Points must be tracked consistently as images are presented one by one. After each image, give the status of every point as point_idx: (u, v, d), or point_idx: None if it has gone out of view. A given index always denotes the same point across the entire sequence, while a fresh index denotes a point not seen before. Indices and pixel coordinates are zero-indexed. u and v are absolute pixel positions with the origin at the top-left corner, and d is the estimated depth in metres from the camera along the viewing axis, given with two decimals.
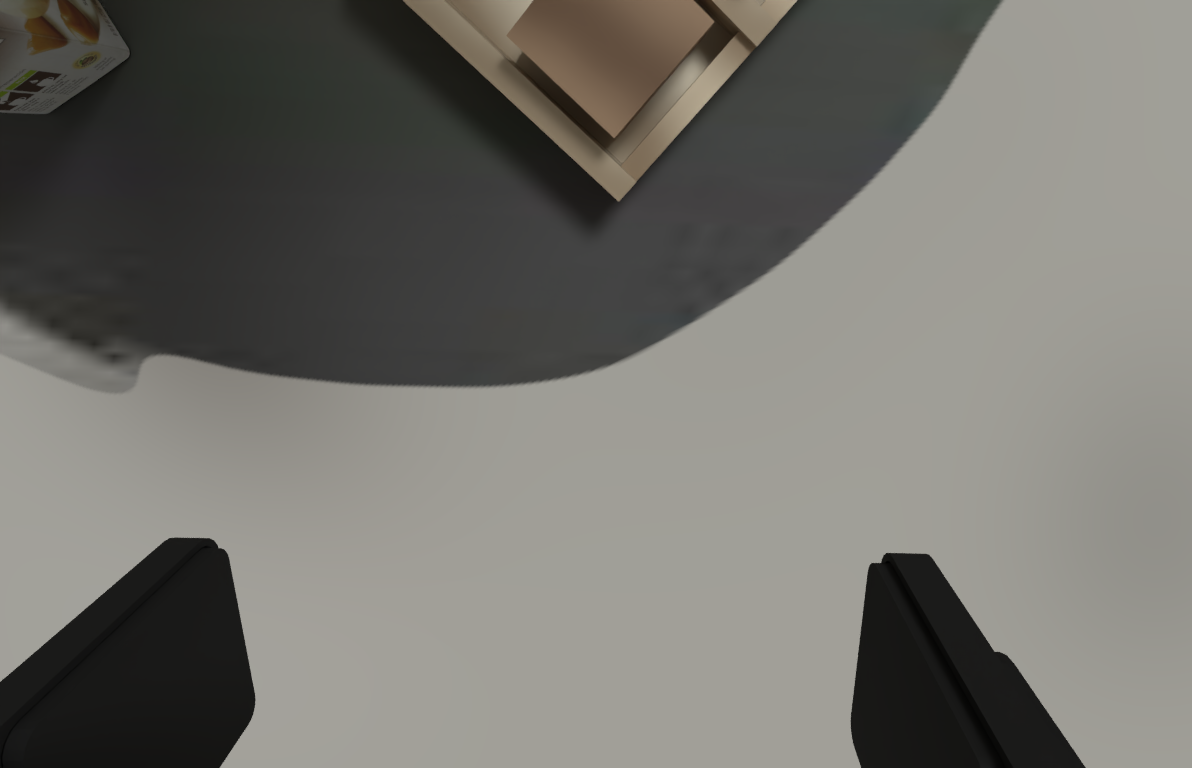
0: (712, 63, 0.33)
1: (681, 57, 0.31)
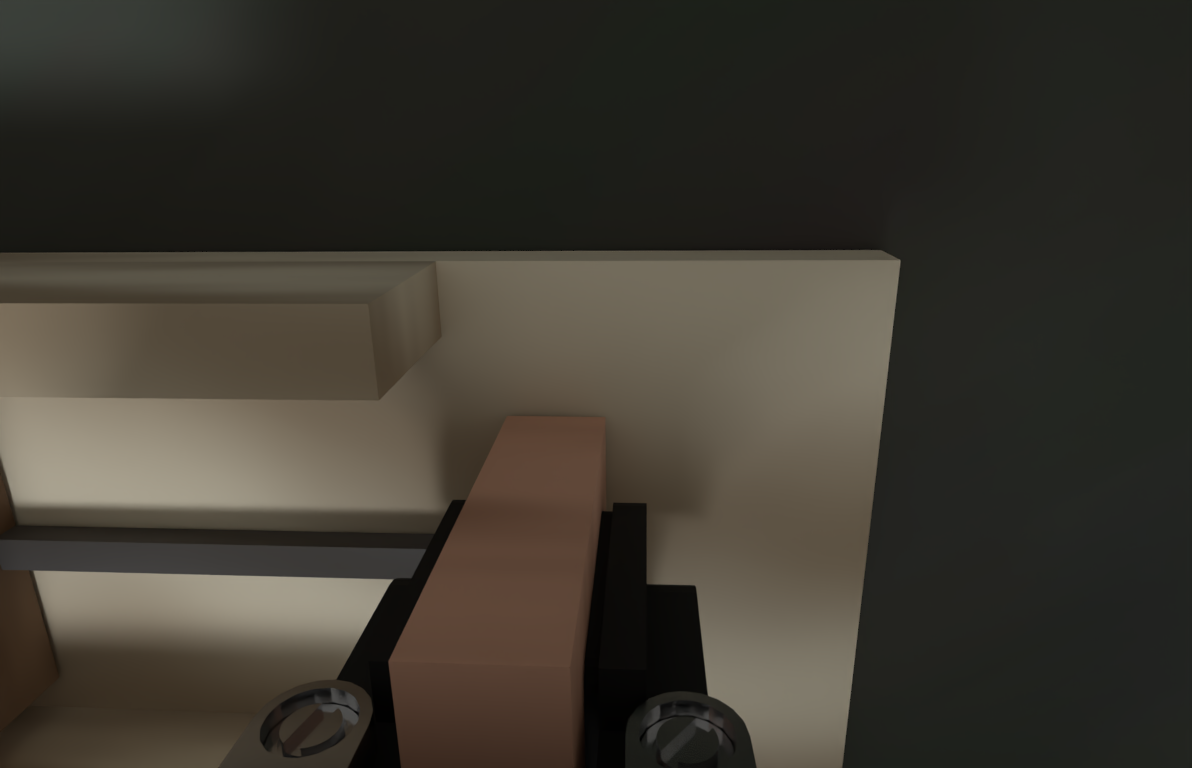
0: None
1: None
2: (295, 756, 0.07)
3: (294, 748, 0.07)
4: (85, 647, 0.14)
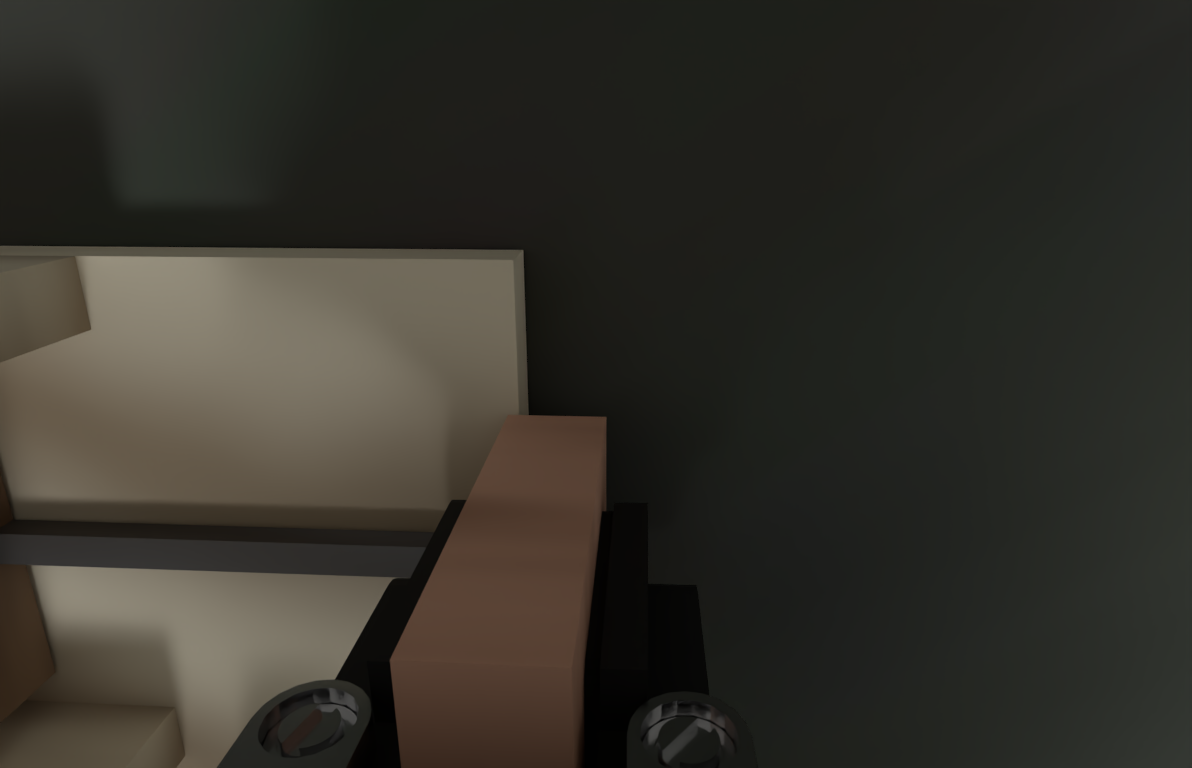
0: None
1: None
2: (294, 756, 0.07)
3: (293, 748, 0.07)
4: None
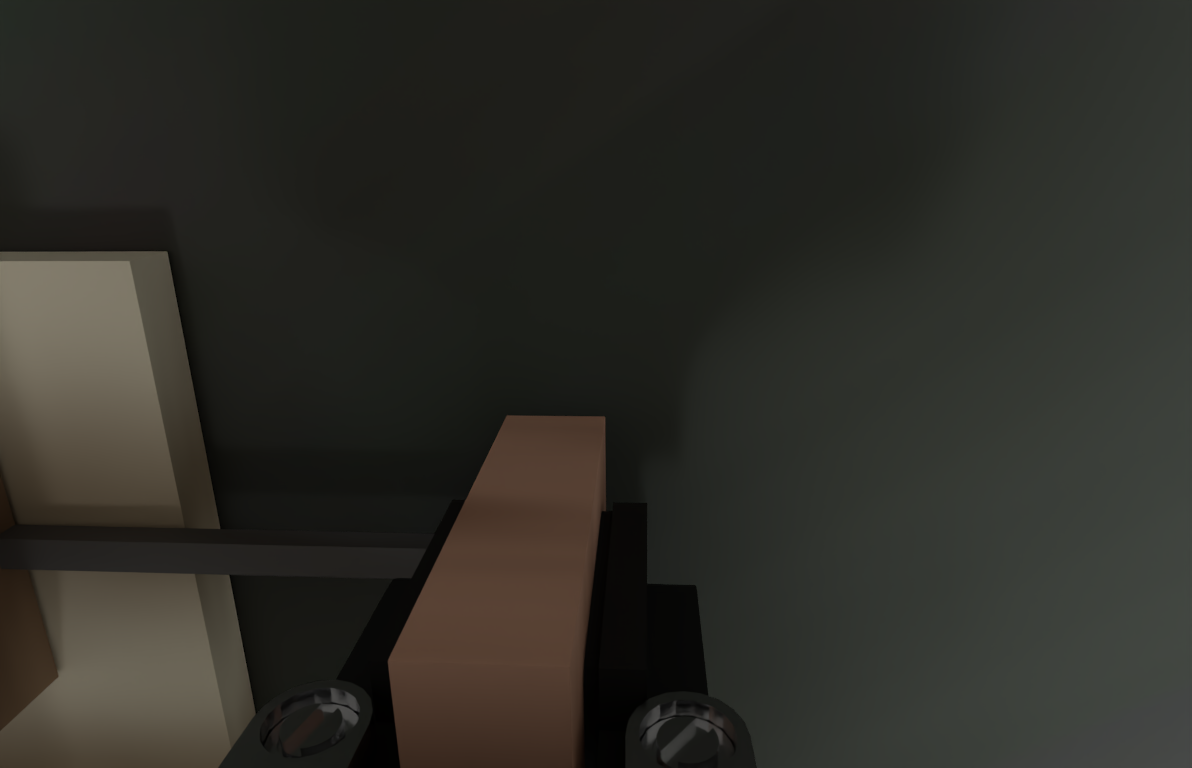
0: None
1: None
2: (295, 756, 0.07)
3: (294, 748, 0.07)
4: None
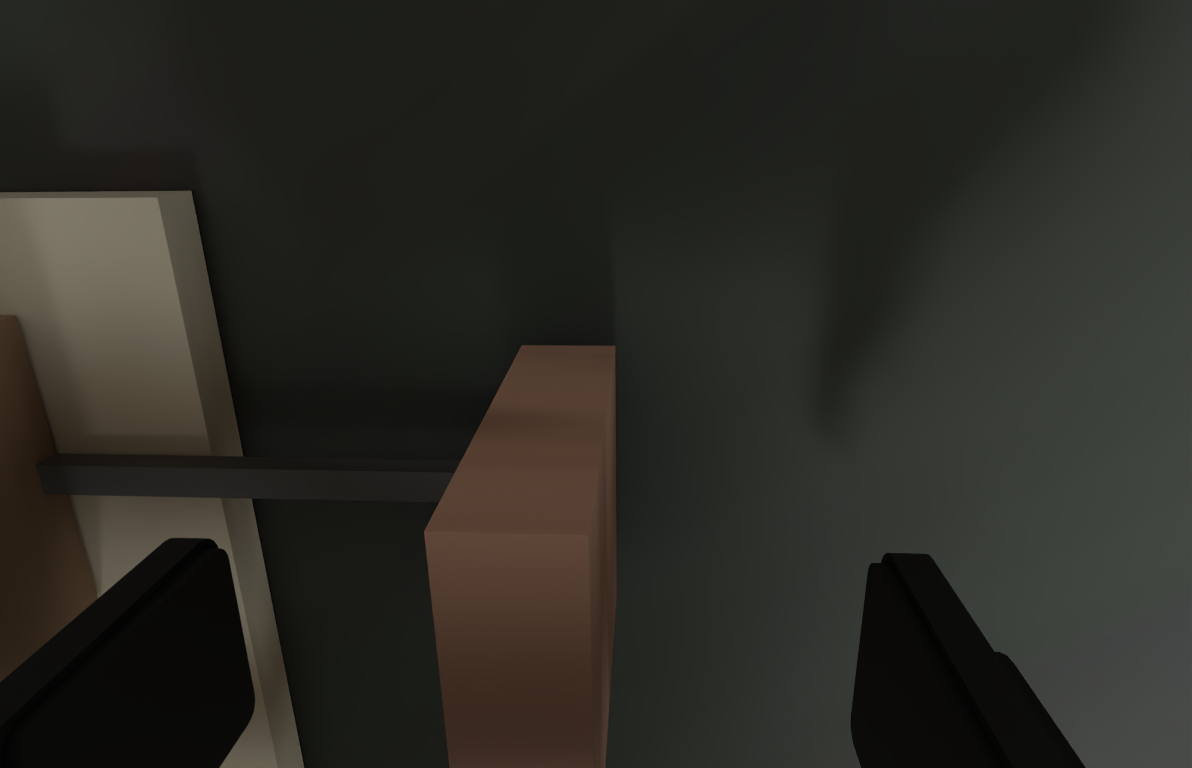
0: None
1: None
2: None
3: None
4: None
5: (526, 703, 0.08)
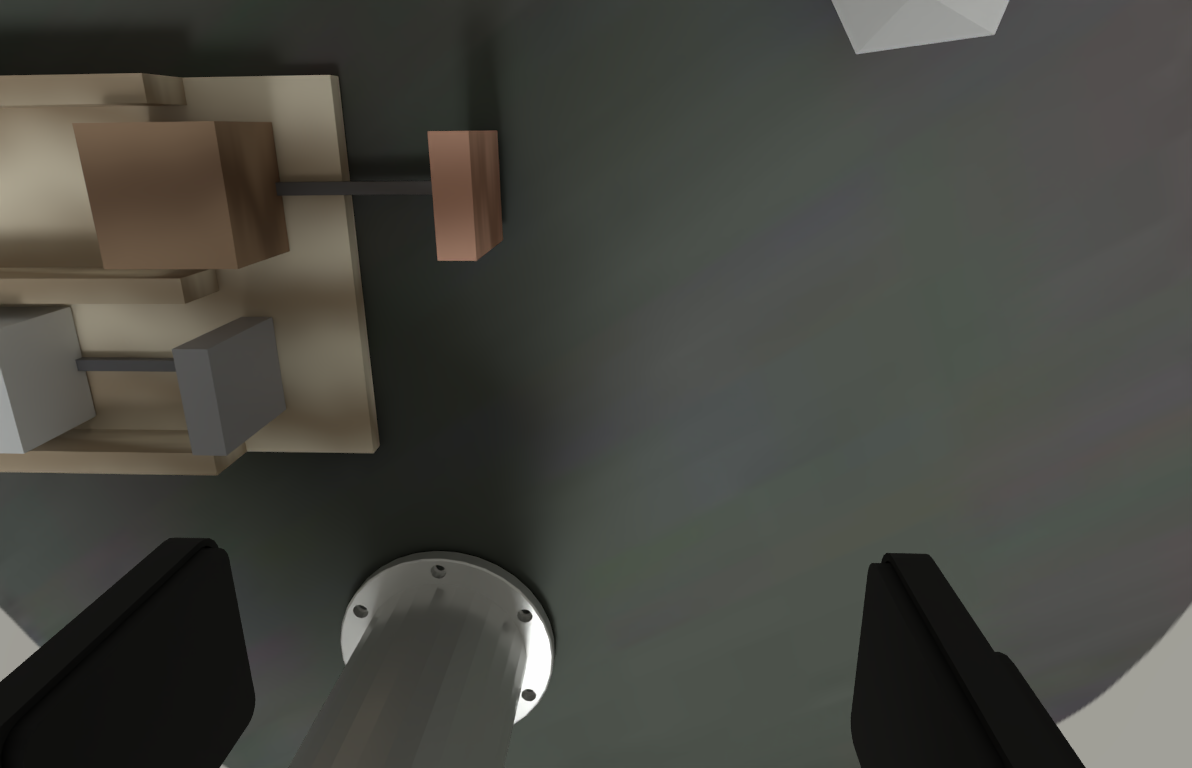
0: None
1: (96, 226, 0.32)
2: None
3: None
4: (67, 238, 0.38)
5: (454, 186, 0.30)
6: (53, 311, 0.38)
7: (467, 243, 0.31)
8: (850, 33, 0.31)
